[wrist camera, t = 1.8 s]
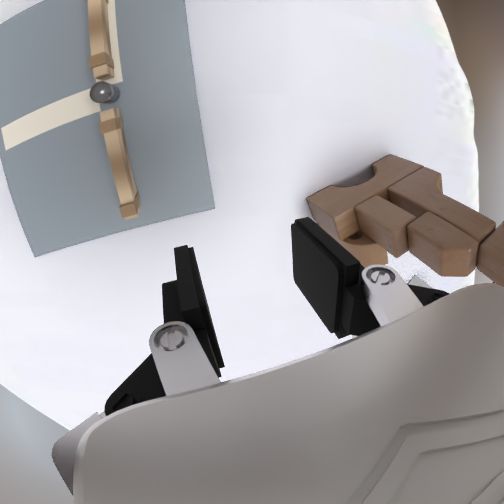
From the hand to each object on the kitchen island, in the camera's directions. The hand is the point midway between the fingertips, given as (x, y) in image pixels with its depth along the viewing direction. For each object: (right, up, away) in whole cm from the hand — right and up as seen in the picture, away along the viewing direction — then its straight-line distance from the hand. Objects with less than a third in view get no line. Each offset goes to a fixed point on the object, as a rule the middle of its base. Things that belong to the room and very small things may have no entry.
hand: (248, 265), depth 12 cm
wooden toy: (+14, +8, +23) cm, 29 cm away
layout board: (-16, +15, +10) cm, 24 cm away
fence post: (-13, +15, +10) cm, 23 cm away
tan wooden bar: (-12, +9, +13) cm, 20 cm away
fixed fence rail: (-14, +21, +6) cm, 25 cm away
